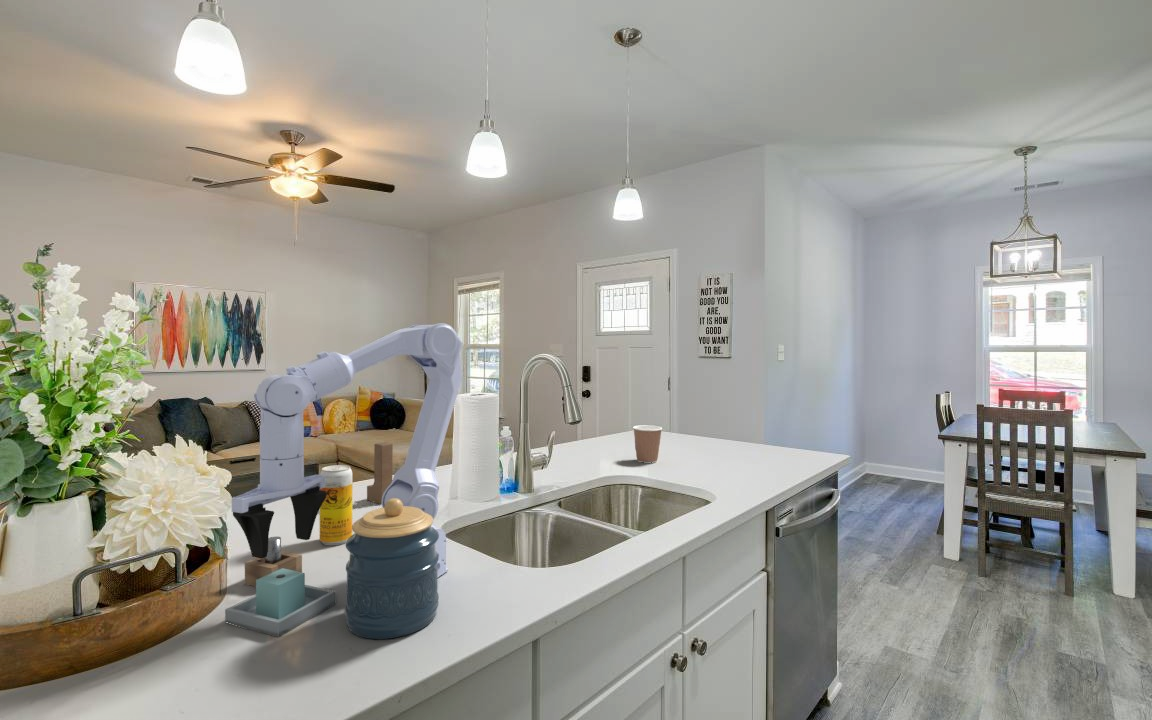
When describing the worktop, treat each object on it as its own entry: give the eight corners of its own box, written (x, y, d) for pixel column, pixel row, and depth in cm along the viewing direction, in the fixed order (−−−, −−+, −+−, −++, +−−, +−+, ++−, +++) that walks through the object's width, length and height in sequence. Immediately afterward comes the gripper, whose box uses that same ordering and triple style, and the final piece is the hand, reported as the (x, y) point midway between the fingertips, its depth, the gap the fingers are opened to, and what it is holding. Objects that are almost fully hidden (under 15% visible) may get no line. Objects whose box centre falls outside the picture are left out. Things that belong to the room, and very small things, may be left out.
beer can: (316, 547, 106) (316, 472, 105) (322, 537, 112) (322, 465, 111) (350, 545, 107) (350, 470, 107) (354, 534, 113) (354, 463, 113)
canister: (331, 616, 79) (331, 497, 79) (412, 589, 88) (413, 482, 88) (368, 653, 70) (369, 518, 70) (455, 618, 79) (456, 499, 79)
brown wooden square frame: (301, 575, 93) (302, 554, 93) (271, 590, 87) (271, 568, 87) (276, 570, 95) (276, 550, 95) (244, 584, 90) (244, 562, 89)
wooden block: (392, 502, 137) (393, 443, 137) (381, 504, 134) (381, 445, 134) (378, 497, 141) (378, 440, 141) (366, 500, 138) (366, 442, 138)
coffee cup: (646, 457, 197) (646, 424, 197) (667, 461, 189) (668, 427, 189) (626, 460, 191) (626, 426, 190) (647, 465, 183) (648, 430, 183)
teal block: (304, 605, 81) (304, 572, 81) (278, 619, 77) (278, 584, 77) (282, 600, 83) (282, 567, 83) (256, 613, 79) (256, 579, 79)
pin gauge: (284, 578, 92) (283, 538, 91) (270, 584, 90) (269, 542, 89) (276, 575, 93) (275, 535, 93) (262, 581, 91) (261, 540, 91)
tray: (335, 603, 83) (335, 591, 83) (278, 637, 73) (278, 622, 73) (285, 592, 87) (285, 580, 87) (225, 623, 77) (225, 609, 77)
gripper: (301, 445, 88) (301, 528, 88) (215, 463, 74) (215, 561, 74) (335, 449, 85) (335, 534, 86) (252, 468, 72) (253, 569, 72)
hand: (282, 547), depth 80 cm, fingers open, 7 cm apart
